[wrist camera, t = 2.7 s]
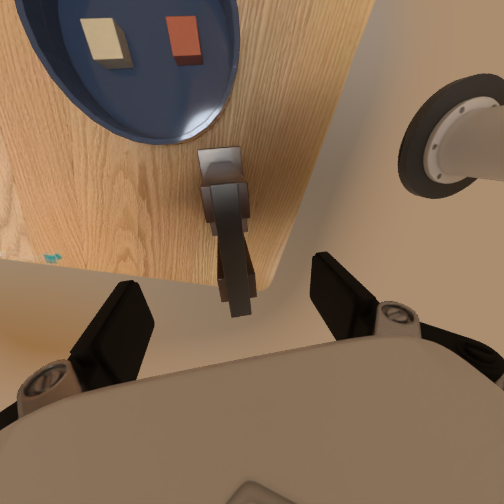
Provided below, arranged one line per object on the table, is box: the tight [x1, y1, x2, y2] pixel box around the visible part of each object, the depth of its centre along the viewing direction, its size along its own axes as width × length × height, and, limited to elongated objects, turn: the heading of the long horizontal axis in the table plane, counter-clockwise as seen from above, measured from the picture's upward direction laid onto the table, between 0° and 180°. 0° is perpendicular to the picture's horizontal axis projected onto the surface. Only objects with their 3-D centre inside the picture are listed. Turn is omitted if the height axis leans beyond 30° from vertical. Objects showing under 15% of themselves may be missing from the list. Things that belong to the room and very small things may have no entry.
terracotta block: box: [166, 16, 203, 66], centre depth 22 cm, size 3×3×3 cm
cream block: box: [80, 18, 134, 69], centre depth 22 cm, size 3×3×3 cm
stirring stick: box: [209, 178, 251, 318], centre depth 14 cm, size 2×10×2 cm, turn 4°
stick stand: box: [197, 146, 257, 302], centre depth 24 cm, size 6×13×20 cm, turn 4°
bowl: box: [15, 0, 240, 145], centre depth 21 cm, size 19×19×6 cm
